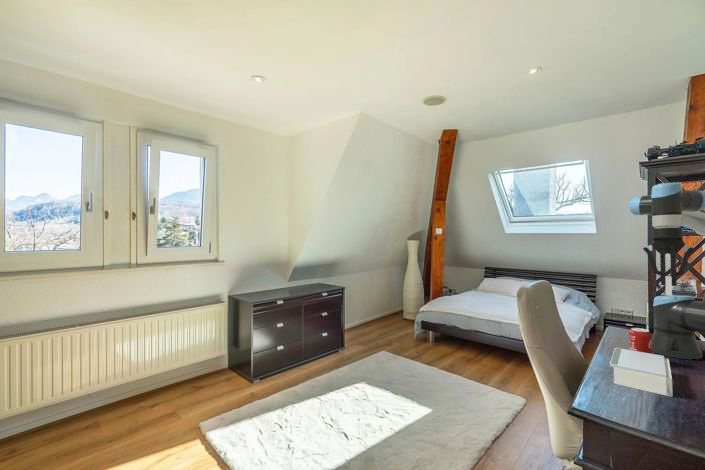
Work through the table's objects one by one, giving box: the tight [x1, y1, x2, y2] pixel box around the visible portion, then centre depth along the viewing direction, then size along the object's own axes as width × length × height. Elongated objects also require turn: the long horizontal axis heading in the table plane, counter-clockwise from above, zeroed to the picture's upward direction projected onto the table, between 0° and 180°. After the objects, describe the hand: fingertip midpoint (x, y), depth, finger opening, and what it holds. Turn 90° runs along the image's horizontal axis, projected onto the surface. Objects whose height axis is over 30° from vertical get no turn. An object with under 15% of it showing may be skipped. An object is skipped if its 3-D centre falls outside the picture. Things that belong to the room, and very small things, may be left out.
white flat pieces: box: [613, 357, 673, 398], centre depth 106 cm, size 13×22×5 cm, turn 137°
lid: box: [609, 347, 666, 378], centre depth 106 cm, size 13×22×1 cm, turn 137°
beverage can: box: [628, 327, 653, 354], centre depth 120 cm, size 6×6×12 cm
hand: (668, 294), depth 112 cm, fingers closed
